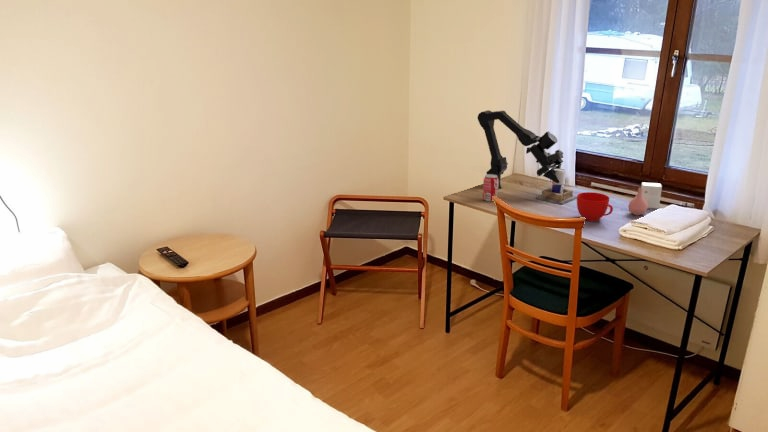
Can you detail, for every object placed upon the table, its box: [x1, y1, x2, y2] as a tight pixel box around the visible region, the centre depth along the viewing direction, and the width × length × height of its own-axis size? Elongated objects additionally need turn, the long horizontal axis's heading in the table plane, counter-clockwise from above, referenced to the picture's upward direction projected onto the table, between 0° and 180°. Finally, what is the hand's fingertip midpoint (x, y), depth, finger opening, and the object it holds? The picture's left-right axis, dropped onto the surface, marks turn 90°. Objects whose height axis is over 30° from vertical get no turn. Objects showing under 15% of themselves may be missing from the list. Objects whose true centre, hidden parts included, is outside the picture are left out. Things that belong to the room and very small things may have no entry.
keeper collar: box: [535, 186, 577, 206], centre depth 268 cm, size 14×14×4 cm
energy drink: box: [551, 168, 566, 194], centre depth 266 cm, size 5×5×12 cm
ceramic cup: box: [576, 191, 614, 222], centre depth 237 cm, size 13×17×10 cm
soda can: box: [482, 173, 499, 202], centre depth 266 cm, size 7×7×12 cm
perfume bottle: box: [627, 187, 648, 216], centre depth 243 cm, size 8×8×12 cm
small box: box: [640, 181, 663, 210], centre depth 253 cm, size 8×6×10 cm
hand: (560, 181), depth 265 cm, fingers closed on energy drink, 5 cm apart
